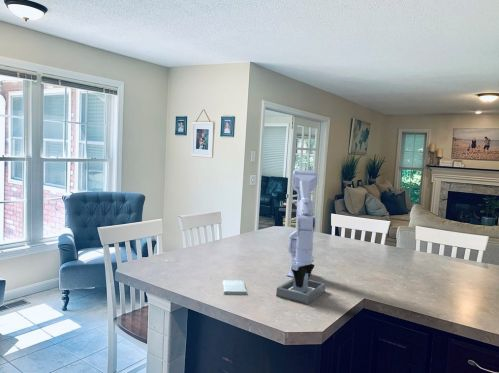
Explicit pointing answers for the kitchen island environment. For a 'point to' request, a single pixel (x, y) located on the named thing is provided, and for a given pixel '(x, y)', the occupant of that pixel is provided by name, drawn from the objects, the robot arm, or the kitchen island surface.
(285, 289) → the dock
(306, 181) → the robot arm
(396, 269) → the kitchen island surface
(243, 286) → the hard drive
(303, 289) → the plug
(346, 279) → the kitchen island surface
